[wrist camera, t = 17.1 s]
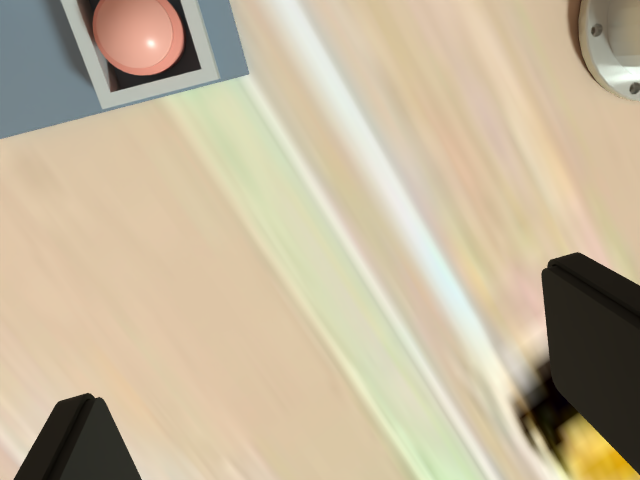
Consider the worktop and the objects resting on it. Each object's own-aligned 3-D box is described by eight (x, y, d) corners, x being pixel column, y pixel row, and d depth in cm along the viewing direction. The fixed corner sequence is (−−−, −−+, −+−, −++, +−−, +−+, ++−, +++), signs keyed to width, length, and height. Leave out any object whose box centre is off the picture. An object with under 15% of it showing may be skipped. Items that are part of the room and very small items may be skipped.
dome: (171, -17, 31) (161, -28, 28) (196, 64, 33) (190, 63, 29) (94, 2, 31) (74, -6, 27) (123, 83, 33) (108, 84, 29)
